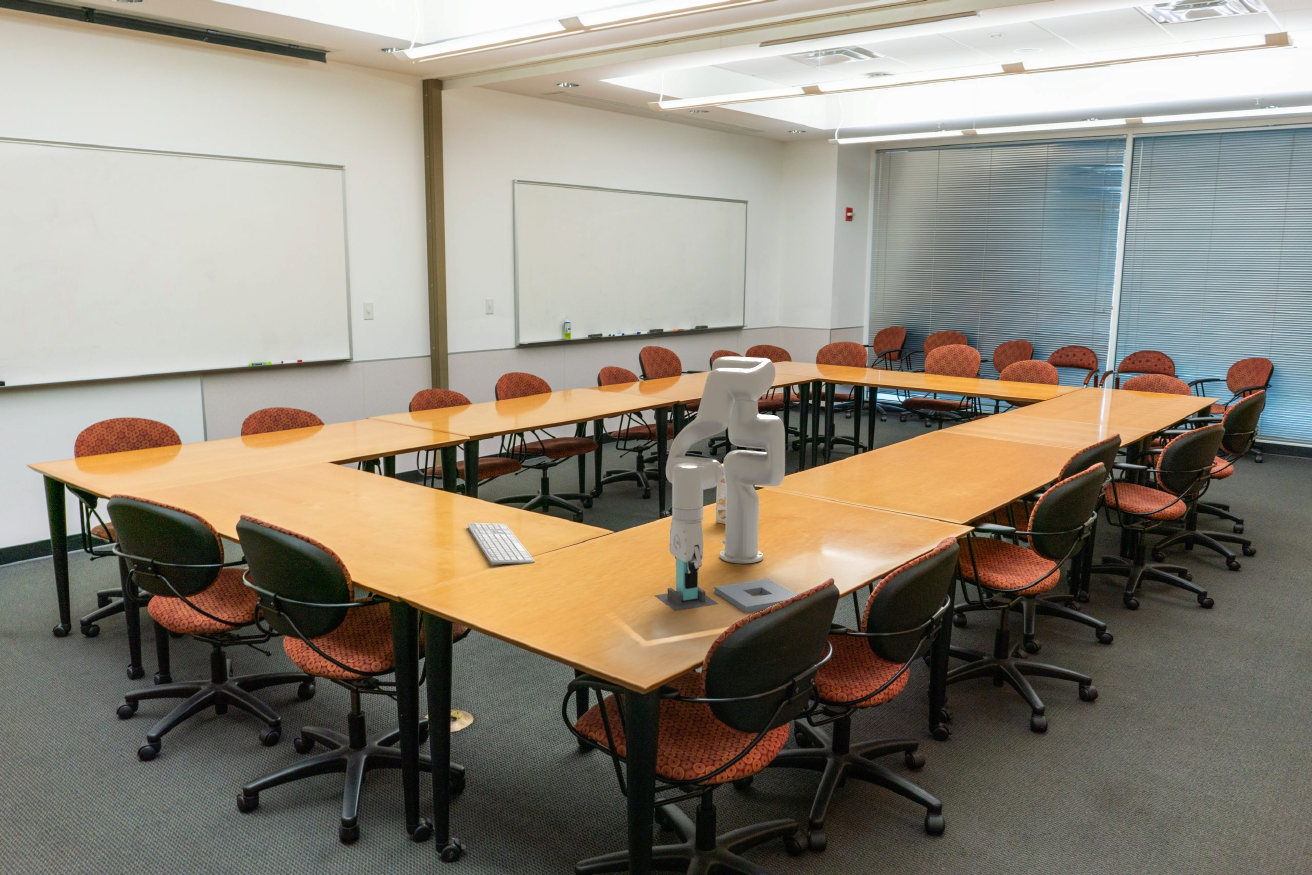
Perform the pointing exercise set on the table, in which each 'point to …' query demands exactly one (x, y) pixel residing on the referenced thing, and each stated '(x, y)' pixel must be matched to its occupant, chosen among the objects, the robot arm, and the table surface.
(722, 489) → the coffeecake box
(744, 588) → the plate
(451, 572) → the table surface
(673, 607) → the dark grey holder stand
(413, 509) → the table surface
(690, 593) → the plug
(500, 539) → the keyboard
